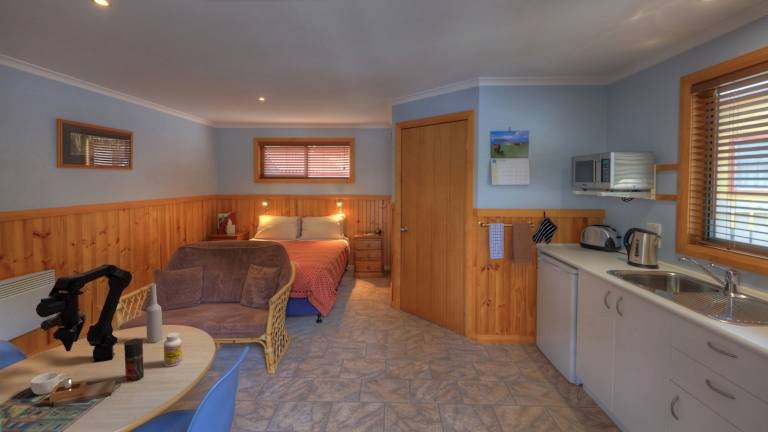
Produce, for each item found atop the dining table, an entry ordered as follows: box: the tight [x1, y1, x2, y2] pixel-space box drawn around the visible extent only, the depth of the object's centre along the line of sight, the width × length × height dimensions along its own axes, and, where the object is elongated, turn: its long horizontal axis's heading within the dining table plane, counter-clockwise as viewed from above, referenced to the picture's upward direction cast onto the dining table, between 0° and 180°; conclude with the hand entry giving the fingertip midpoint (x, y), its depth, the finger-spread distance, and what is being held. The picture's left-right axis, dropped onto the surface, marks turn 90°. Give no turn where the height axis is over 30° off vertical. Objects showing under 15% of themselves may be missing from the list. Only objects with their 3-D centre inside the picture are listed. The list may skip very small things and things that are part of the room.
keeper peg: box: [63, 377, 73, 390], centre depth 130 cm, size 2×2×6 cm
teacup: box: [29, 371, 67, 396], centre depth 135 cm, size 10×8×5 cm
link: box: [48, 380, 88, 402], centre depth 131 cm, size 9×6×2 cm, turn 118°
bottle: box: [145, 283, 164, 344], centre depth 178 cm, size 7×7×28 cm
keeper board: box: [53, 379, 117, 408], centre depth 133 cm, size 16×9×2 cm, turn 118°
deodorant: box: [123, 338, 145, 383], centre depth 144 cm, size 6×6×15 cm
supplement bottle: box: [163, 332, 183, 368], centre depth 157 cm, size 7×7×13 cm
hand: (71, 346), depth 145 cm, fingers open, 9 cm apart
